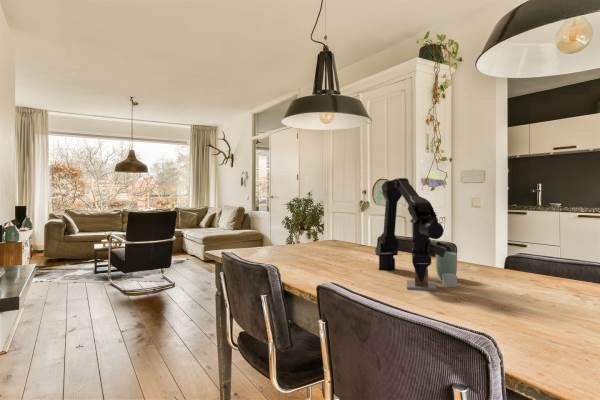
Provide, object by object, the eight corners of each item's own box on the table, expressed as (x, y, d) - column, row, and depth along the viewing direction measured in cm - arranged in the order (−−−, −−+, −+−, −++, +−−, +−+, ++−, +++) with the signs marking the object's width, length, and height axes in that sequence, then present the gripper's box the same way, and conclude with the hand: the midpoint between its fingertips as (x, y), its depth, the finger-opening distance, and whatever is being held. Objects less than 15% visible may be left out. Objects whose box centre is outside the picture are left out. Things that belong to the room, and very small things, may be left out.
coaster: (406, 289, 129) (406, 287, 129) (407, 282, 139) (407, 280, 139) (436, 291, 126) (436, 288, 126) (434, 283, 136) (434, 281, 136)
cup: (460, 280, 140) (460, 254, 140) (440, 281, 140) (440, 255, 140) (452, 276, 148) (452, 251, 148) (433, 276, 148) (433, 251, 148)
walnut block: (414, 285, 131) (414, 269, 131) (414, 282, 135) (414, 266, 135) (428, 286, 130) (428, 269, 130) (427, 283, 134) (427, 267, 134)
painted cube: (446, 287, 132) (445, 276, 132) (442, 284, 136) (442, 273, 135) (457, 287, 131) (457, 276, 131) (452, 284, 135) (452, 273, 135)
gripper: (447, 239, 121) (447, 286, 121) (442, 233, 139) (442, 273, 139) (412, 238, 124) (412, 284, 125) (411, 232, 142) (412, 272, 142)
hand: (421, 278), depth 133 cm, fingers open, 9 cm apart
